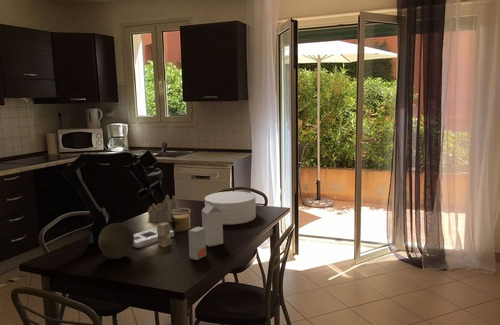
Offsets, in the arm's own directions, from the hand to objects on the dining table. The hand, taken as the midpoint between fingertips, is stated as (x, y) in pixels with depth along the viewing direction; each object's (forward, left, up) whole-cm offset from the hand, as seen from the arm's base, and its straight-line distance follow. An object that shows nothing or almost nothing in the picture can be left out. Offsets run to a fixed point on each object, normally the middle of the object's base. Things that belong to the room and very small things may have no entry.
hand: (161, 199), depth 187 cm
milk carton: (+8, -26, -18) cm, 33 cm away
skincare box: (-7, -33, -18) cm, 38 cm away
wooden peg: (-7, -10, -18) cm, 22 cm away
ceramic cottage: (+20, +25, -19) cm, 37 cm away
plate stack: (+43, -3, -19) cm, 47 cm away
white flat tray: (-7, +2, -18) cm, 19 cm away
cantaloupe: (-29, -8, -18) cm, 35 cm away
